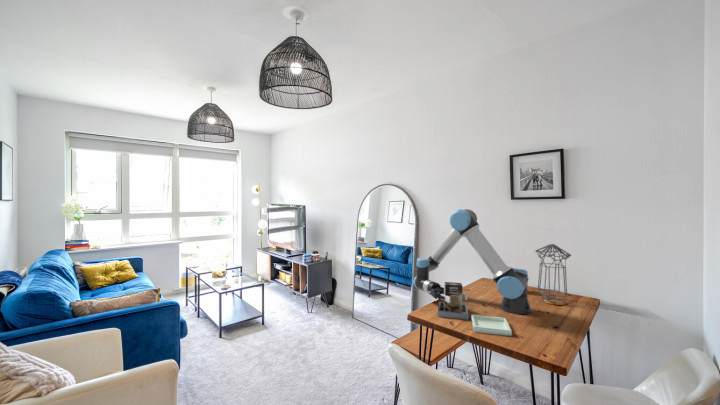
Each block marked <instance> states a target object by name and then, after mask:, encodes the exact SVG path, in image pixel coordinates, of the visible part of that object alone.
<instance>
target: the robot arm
mask: <svg viewBox="0 0 720 405" xmlns="http://www.w3.org/2000/svg"><path fill="white" fill-rule="evenodd" d="M477 216H478V215H477V214H476V213H475V212H474V211H473V210H471V209H465V208H464V209H462V208H461V209H457V210H455V211H453V212H452V213H451V214H450V217H449V225H450V227H451V228H452V229H451V230H450V231H449V233H447V235H446V236H445V237H444V239H442V241H441V242H440V243H439V244H438V246H437V247H436V248H435V250H434V251H433V252H432V253H431V254H430V256H429V257H427V258H426V257H418V258H417V259H416V276H415V277H414V278H413V281H412V285H413V286H414V288H416V289H418V290H421V291H423V292H425V293H427V294H428V295H431V297H432V298H433V299H434V300H437V299H438V301H441V300H442V301H443V302H444V301H446V302H449V303H450V297H448V296H446V295H444V286H443V287H442V286H441V284H440V283H439V282H435V281H434V280H431V279H429V277H430V272H432V271H435V270H437V269H438V268H439V265H440V264H441V263H442V261H443V260H444V259H445V258H446V256H447V255H448V254H449V253H450V252H451V250H453V248H454V247H455V246H456V245H457V244H458V242H459V241H460V240H461V239H462V238H465V239H466V240H467V241H468V243H469V244H470V245H471V247H472V248H473V249H474V251H475V252H476V253H477V255H478V256H479V258H480V259H481V260H482V262H483V263H484V264H485V266H486V267H487V268H488V270H489V271H490V273H491V274H492V280H493V281H494V283H495V284H496V288H497V291H498V293H499V294H500V295H501V296H502V300H501V302H500V309H501V310H503V311H505V312H507V313H511V314H517V315H528V314H531V312H532V307H531V304H530V302H529V298H528V290H529V289H528V285H529V284H528V282H529V279H528V278H529V273H528V271H527V270H526V269H523V268H515V267H512V266H508V264H506V263H505V261H504V260H503V259H502V258H501V256H500V254H498V252H497V250H496V249H495V248H494V247H493V245H492V244H491V243H490V242H489V240H488V239H487V237H486V236H485V235H484V234H483V232H482V231H481V230H480V224H479V223H478V217H477ZM462 300H465V301H468V294H466V293H463V292H462Z"/></svg>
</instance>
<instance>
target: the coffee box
mask: <svg viewBox="0 0 720 405" xmlns="http://www.w3.org/2000/svg"><path fill="white" fill-rule="evenodd" d="M443 283H444V284H443V288H444V295H446V296H448V297H450V303H449V302H446V301H444V300H443V302H444V308H443V311H450V312H459V313H463V310H462V304H463V299H462V293H463V287H464V286H463V284H462V283H461V282H452V281H451V282H450V281H443Z"/></svg>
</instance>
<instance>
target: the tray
mask: <svg viewBox="0 0 720 405" xmlns="http://www.w3.org/2000/svg"><path fill="white" fill-rule="evenodd" d="M470 317H471V319H470V320H471V326H472V330H473V333H481V334H489V335H498V336H506V337H512V335H513V334H512V329H511V326H510V325H509V323H508V321H507V319H506V317H501V316H500V317H499V316H491V315H488V316H487V315H480V314H471V316H470Z"/></svg>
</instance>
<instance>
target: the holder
mask: <svg viewBox="0 0 720 405" xmlns="http://www.w3.org/2000/svg"><path fill="white" fill-rule="evenodd" d="M441 309H444V301H443V302H441V301H438V309H437V317H439V318H448V319H457V320H465V321H469V310H468V305H467V304H463V303H462V311H464V312H462V313H459V312H450V311H444V310H441Z"/></svg>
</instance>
